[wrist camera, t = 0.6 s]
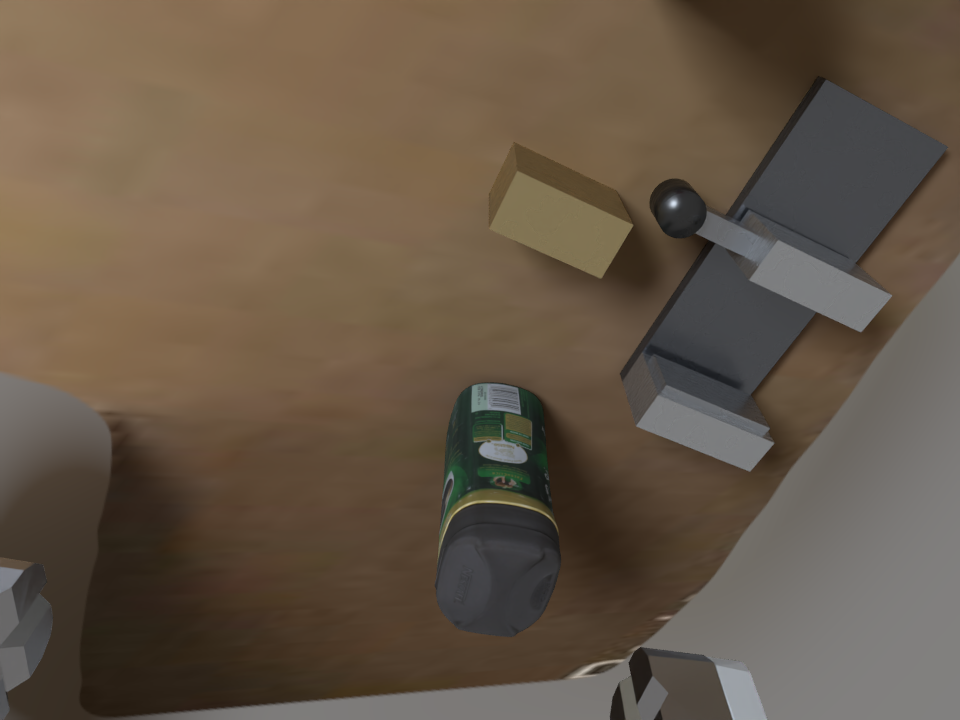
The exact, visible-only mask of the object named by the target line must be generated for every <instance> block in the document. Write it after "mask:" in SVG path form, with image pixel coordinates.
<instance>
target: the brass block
mask: <svg viewBox="0 0 960 720" xmlns="http://www.w3.org/2000/svg"><path fill="white" fill-rule="evenodd" d="M632 227H633V223H632V221H631V219H630V217H629V215H628V213H627V211H626V209H625V207H624V205H623V203H622V201H621V199H620V198H619V196H618V194H617V192H616V190H614V189H612V188H610V187H607V186H605V185H603V184H601V183H599V182H597V181H595V180H593V179H591V178H588V177H586V176H584V175H582V174H580V173H578V172H576V171H574V170H572V169H570V168H567V167H565V166H563V165H561V164H559V163H557V162H555V161H553V160H551V159H549V158H546V157H544V156H542V155H540V154H538V153H536V152H534V151H532V150H530V149H528V148H525V147H523V146H521V145H519V144H517V143H515V142H514V143H513V145H512V147H511V149H510V151H509V153H508V155H507V157H506V159H505V162H504V164H503V166H502V168H501V170H500V172H499V174H498V176H497V178H496V180H495V183H494V185H493V187H492V189H491V191H490V193H489V229H490V230H492V231H494V232H497V233H499V234H501V235H503V236H506V237H508V238H510V239H512V240H515V241H517V242H519V243H521V244H524V245H526V246H528V247H530V248H533V249H535V250H537V251H539V252H542V253H544V254H546V255H548V256H551V257H553V258H555V259H558V260H560V261H562V262H564V263H567V264H569V265H571V266H573V267H576V268H578V269H580V270H582V271H585V272H587V273H589V274H591V275H594V276H596V277H598V278H600V279H601V278H602V277H603V275H604V273H605V272H606V270H607V268H608V267H609V265H610V263H611V262H612V260H613V258H614V257H615V255H616V253H617V252H618V250H619V248H620V247H621V245H622V243H623V242H624V240H625V238H626V237H627V235H628V233H629V232H630V230H631V228H632Z"/></svg>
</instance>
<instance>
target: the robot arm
mask: <svg viewBox="0 0 960 720" xmlns="http://www.w3.org/2000/svg"><path fill="white" fill-rule="evenodd" d="M46 583H47V579H46V575H45V571H44V567H43V565H42V564H36V563H30V562H24V561H18V560H12V559H6V558H0V720H3V719H4V718H5V716H6V715H7V713H8V712H9V703H8V695H7V692H8V691H9V690H11V689H13V688H14V687H16V686H17V685H19V684H20V683H22V682H24V681H25V680H27V679H28V678H29V677H30V676H31V675H32V673H33V671H34V670H35V668H36V666H37V665H38V663H39V661H40V660H41V658H42V656H43V654H44V651H45V648H46V646H47V643H48V640H49V637H50V634H51V628H52V619H53V616H52V609H51V604H49V603H48V602H47V601H46V600H45V599H44V598H43V597H42V596H41V595H40V594H39V593H40V592H41V590H42V588H43V587H44V586H45V584H46ZM629 667H630V672H631V676H629V677H628V678H626V679H624V680H622V681H620V682H619V684H618V687H617V689H616V691H615V693H614V696H613V699H612V706H611V713H610V720H768V719H767V717H766V714H765V711H764V709H763V706H762V703H761V701H760V698H759V695H758V693H757V690H756V687H755V685H754V682H753V679H752V676H751V674H750V671H749V669H748V668H747V666H746V665H745V664H744V663H743V662H741V661H736V660H729V659H721V658H713V657H706V656H704V655H697V654H690V653H682V652H674V651H666V650H658V649H650V648H642V647H640V648H639V649H637V650H636V651H635V652H634V653H633V655H632V657H631V659H630V661H629Z"/></svg>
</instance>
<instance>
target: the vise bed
mask: <svg viewBox="0 0 960 720" xmlns="http://www.w3.org/2000/svg"><path fill="white" fill-rule="evenodd" d="M947 148H948V147H947V146H946V145H944V144H942V143H940V142H938V141H936V140H935V139H933V138H931V137H929V136H927V135H926V134H924V133H922V132H920V131H918V130H917V129H915V128H913V127H911V126H909V125H908V124H906V123H904V122H902V121H900V120H899V119H897V118H895V117H893V116H891V115H890V114H888V113H886V112H884V111H882V110H880V109H879V108H877V107H875V106H873V105H871V104H870V103H868V102H866V101H864V100H862V99H861V98H859V97H857V96H855V95H853V94H852V93H850V92H848V91H846V90H844V89H843V88H841V87H839V86H837V85H835V84H834V83H832V82H830V81H828V80H826V79H824V78H821V77H819V76H818V78H817V79H816V81H815V82H814V84H813V85H812V87H811V88H810V90H809V91H808V93H807V94H806V96H805V97H804V99H803V100H802V102H801V103H800V105H799V106H798V108H797V109H796V111H795V112H794V114H793V115H792V117H791V118H790V120H789V121H788V123H787V124H786V126H785V127H784V129H783V130H782V132H781V133H780V135H779V136H778V138H777V139H776V141H775V142H774V144H773V145H772V147H771V148H770V150H769V151H768V153H767V154H766V156H765V157H764V159H763V160H762V162H761V163H760V165H759V166H758V168H757V169H756V171H755V172H754V174H753V175H752V177H751V178H750V180H749V181H748V183H747V184H746V186H745V187H744V189H743V190H742V192H741V193H740V195H739V196H738V198H737V199H736V201H735V202H734V204H733V205H732V207H731V208H730V210H729V211H728V213H727V214H726V215H727V216H729V217H731V218H733V219H735V220H737V221H739V222H741V220H742V219H743V217H744V216H745V214H746V213H747V211H748V210H750V211H752V212H755V213H757V214H759V215H761V216H763V217H765V218H767V219H769V220H771V221H773V222H775V223H777V224H779V225H781V226H783V227H785V228H787V229H789V230H791V231H793V232H795V233H797V234H799V235H801V236H803V237H805V238H807V239H809V240H811V241H814V242H816V243H818V244H820V245H822V246H824V247H826V248H828V249H830V250H832V251H834V252H836V253H838V254H840V255H842V256H844V257H846V258H848V259H850V260H852V261H854V262H855V263H856V262H857V261H858V260H859V258H860V257H861V256H862V255H863V253H864V252H865V251H866V250H867V248H868V247H869V246H870V245H871V243H872V242H873V241H874V240H875V238H876V237H877V236H878V235H879V233H880V232H881V231H882V230H883V228H884V227H885V226H886V225H887V223H888V222H889V221H890V220H891V218H892V217H893V216H894V214H895V213H896V212H897V211H898V209H899V208H900V207H901V206H902V204H903V203H904V202H905V201H906V199H907V198H908V197H909V196H910V194H911V193H912V192H913V191H914V189H915V188H916V187H917V186H918V184H919V183H920V182H921V181H922V179H923V178H924V177H925V176H926V174H927V173H928V172H929V171H930V169H931V168H932V167H933V166H934V164H935V163H936V162H937V161H938V159H939V158H940V157H941V156H942V154H943V153H944V152H945V151H946V149H947ZM815 313H816V311H814V310H812V309H810V308H807V307H805V306H803V305H801V304H799V303H797V302H795V301H792V300H790V299H788V298H786V297H784V296H782V295H780V294H777V293H775V292H773V291H771V290H769V289H767V288H765V287H762V286H760V285H758V284H756V283H754V282H752V281H750V280H748V278H747V277H746V276H745V274H744V273H743V272H742V270H741V269H740V268H739V266H738V265H737V264H736V263H735V261H734V260H733V259H732V257H731V256H730V255H729V253H728V252H727V251H726V250H725V248H724V247H723V246H721V245H719V244H717V243H714V242H712V241H710V240H709V241H708V243H707V244H706V246H705V247H704V249H703V250H702V252H701V253H700V255H699V256H698V258H697V259H696V260H695V262H694V263H693V265H692V266H691V268H690V269H689V271H688V272H687V274H686V275H685V277H684V278H683V280H682V281H681V283H680V284H679V286H678V287H677V289H676V290H675V292H674V293H673V295H672V296H671V298H670V299H669V301H668V302H667V304H666V305H665V307H664V308H663V310H662V311H661V313H660V314H659V316H658V317H657V319H656V320H655V322H654V323H653V325H652V326H651V328H650V329H649V331H648V332H647V334H646V335H645V337H644V338H643V340H642V341H641V343H640V344H639V346H638V347H637V349H636V350H635V352H634V353H633V355H632V356H631V358H630V359H629V361H628V362H627V364H626V365H625V367H624V368H623V370H622V371H621V373H620V375H621V378H622V382H623V385H624V388H625V392H626V395H627V398H628V402H629V405H630V408H631V411H632V415H633V418H634V421H635V425H636V426H637V427H639V428H642V429H644V430H647V431H649V432H652V433H654V434H657V435H659V436H662V437H664V438H667V439H669V440H672V441H674V442H677V443H679V444H682V445H684V446H687V447H689V448H692V449H694V450H697V451H699V452H702V453H704V454H707V455H709V456H712V457H714V458H717V459H719V460H722V461H725V462H727V463H730V464H732V465H735V466H737V467H740V468H742V469H745V470H747V471H751V470H752V469H753V468H754V466H755V465H756V464H757V463H758V462H759V461H760V459H761V458H762V457H763V456H764V455H765V454H766V452H767V451H768V450H769V449H770V448H771V447H772V445H773V444H774V441H773V439H772V438H771V436H770V434H769V432H768V430H769V429H770V427H769V425H768V424H767V422H766V420H765V418H764V417H763V415H762V413H761V411H760V410H759V408H758V406H757V405H756V403H755V401H754V399H753V398H752V396H751V394H752V392H753V391H754V390H755V389H756V387H757V386H758V385H759V384H760V382H761V381H762V380H763V379H764V377H765V376H766V375H767V374H768V372H769V371H770V370H771V369H772V367H773V366H774V365H775V364H776V362H777V361H778V360H779V359H780V357H781V356H782V355H783V354H784V352H785V351H786V350H787V349H788V347H789V346H790V345H791V343H792V342H793V341H794V340H795V338H796V337H797V336H798V335H799V333H800V332H801V331H802V330H803V328H804V327H805V326H806V325H807V323H808V322H809V321H810V320H811V318H812V317H813V316H814V315H815Z"/></svg>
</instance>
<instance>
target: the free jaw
mask: <svg viewBox="0 0 960 720" xmlns="http://www.w3.org/2000/svg"><path fill="white" fill-rule="evenodd" d="M650 209H651V212H652V214H653V215H654V217H655V219H656V220H657V222H658V224H659V225H660V227H661V229H662V230H663V231H664V232H665V233H666V234H667V235H669V236H671V237H673V238H686V237H689V236H691V235H693V234H698V235H700V236H702V237H704V238H706V239H708V240H710V241H712V242H714V243H717V244H719V245H721V246H723V247H724V248H725V250H726V251H727V252H728V253H729V255H730V256H731V257H732V259H733V260H734V261H735V263H736V264H737V265H738V266H739V268H740V269H741V270H742V272H743V273H744V274H745V276H746V277H747V278H748V280H750V281H752V282H754V283H756V284H758V285H760V286H762V287H765V288H767V289H769V290H771V291H773V292H775V293H777V294H780V295H782V296H784V297H786V298H788V299H790V300H792V301H795V302H797V303H799V304H801V305H803V306H805V307H807V308H810V309H812V310H814V311H816V312H818V313H820V314H822V315H825V316H827V317H829V318H831V319H833V320H835V321H837V322H840V323H842V324H844V325H846V326H848V327H850V328H852V329H855V330H857V331H859V332H862V331H863V330H864V328H865V327H866V326H867V325H868V324H869V323H870V321H871V320H872V319H873V318H874V317H875V315H876V314H877V313H878V312H879V311H880V310H881V308H882V307H883V306H884V305H885V304H886V303H887V301H888V300H889V299H890V298H891V297H892V295H891V294H890V293H889V292H888V291H887V290H886V289H884V288H883V287H882V286H881V285H880V284H879V283H878V282H876V281H875V280H874V279H873V278H872V277H871V276H870V275H868V274H867V273H866V272H865V271H864V270H863V269H862V268H860V267H859V266H858V265H857V264H856V263H855V262H854V261H852V260H850V259H848V258H846V257H844V256H842V255H840V254H838V253H836V252H834V251H832V250H830V249H828V248H826V247H824V246H822V245H820V244H818V243H816V242H814V241H811V240H809V239H807V238H805V237H803V236H801V235H799V234H797V233H795V232H793V231H791V230H789V229H787V228H785V227H783V226H781V225H779V224H777V223H775V222H773V221H771V220H769V219H767V218H765V217H763V216H761V215H759V214H757V213H755V212H752V211H750V210H748V211H747V213H746V214H745V216H744V217H743V219H742V220H741V222H739V221H737V220H735V219H733V218H731V217H729V216H727V215H725V214H723V213H720V212H718V211H716V210H714V209H712V208H710V207H708V206H706V205H705V203H704V201H703V200H702V199H701V197H700V196H699V195H698V194H697V193H696V191H695V190H694V189H693V188H692V187H691V185H690V184H689V183H687V182H686V181H684V180H681V179H669V180H666V181H664V182H662V183H661V184H659V185H658V186H657V187H656V188H655V189H654V191H653V192H652V194H651V197H650Z"/></svg>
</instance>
